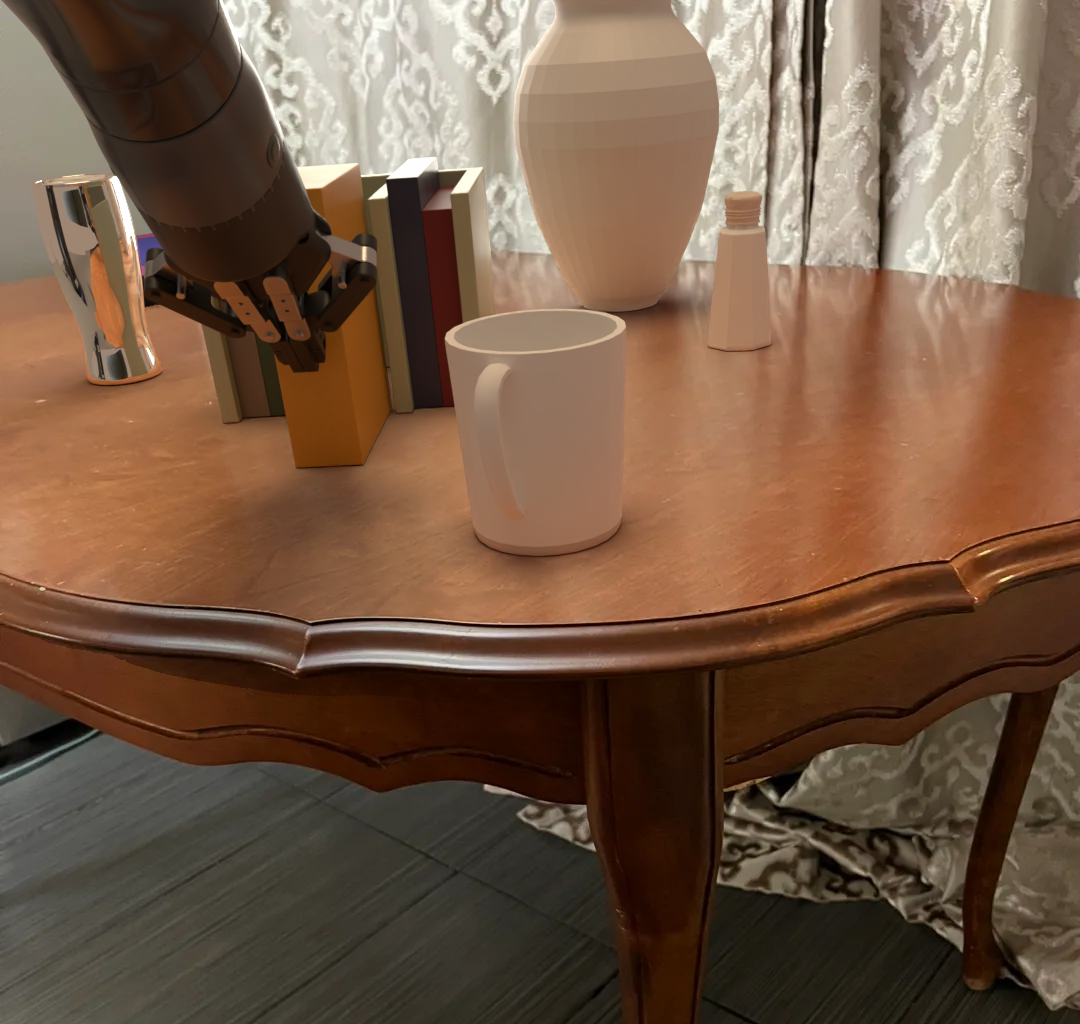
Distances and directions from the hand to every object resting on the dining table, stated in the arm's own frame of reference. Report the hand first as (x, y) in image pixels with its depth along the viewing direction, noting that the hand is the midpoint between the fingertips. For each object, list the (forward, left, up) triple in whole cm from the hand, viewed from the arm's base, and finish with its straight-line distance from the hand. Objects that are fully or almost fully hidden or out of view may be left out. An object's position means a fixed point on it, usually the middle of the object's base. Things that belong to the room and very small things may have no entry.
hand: (306, 358), depth 67 cm
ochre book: (0, +7, -7) cm, 10 cm away
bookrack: (0, +18, -7) cm, 19 cm away
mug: (+14, -12, -7) cm, 20 cm away
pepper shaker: (+29, +25, -7) cm, 39 cm away
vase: (+20, +42, -7) cm, 47 cm away
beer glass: (-22, +26, -7) cm, 35 cm away
